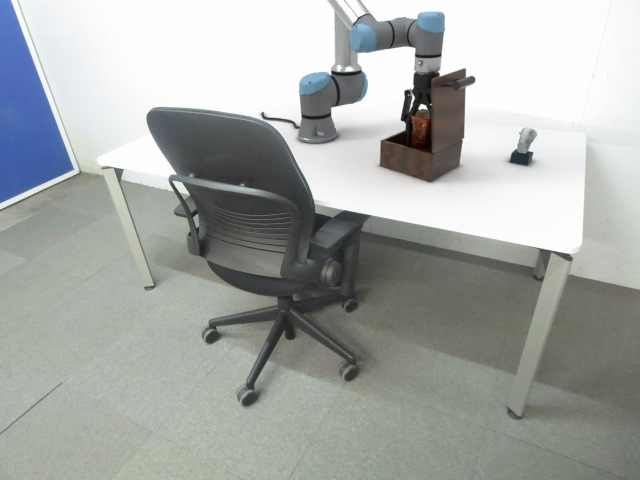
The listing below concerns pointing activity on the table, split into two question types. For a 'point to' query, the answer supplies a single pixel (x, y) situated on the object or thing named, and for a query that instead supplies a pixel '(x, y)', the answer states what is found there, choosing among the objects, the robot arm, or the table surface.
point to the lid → (448, 108)
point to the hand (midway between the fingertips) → (420, 146)
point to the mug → (421, 129)
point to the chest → (418, 158)
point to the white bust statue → (524, 147)
